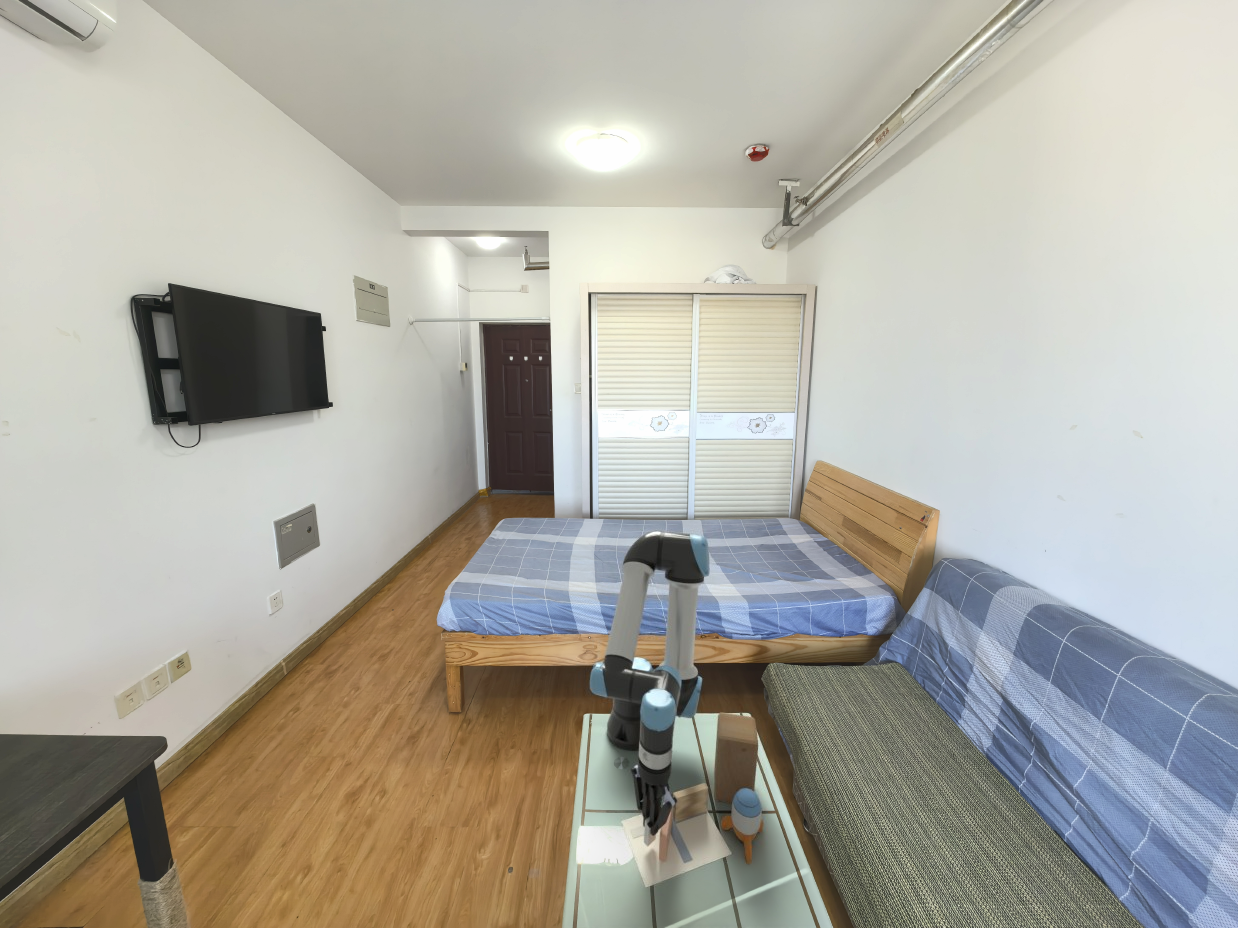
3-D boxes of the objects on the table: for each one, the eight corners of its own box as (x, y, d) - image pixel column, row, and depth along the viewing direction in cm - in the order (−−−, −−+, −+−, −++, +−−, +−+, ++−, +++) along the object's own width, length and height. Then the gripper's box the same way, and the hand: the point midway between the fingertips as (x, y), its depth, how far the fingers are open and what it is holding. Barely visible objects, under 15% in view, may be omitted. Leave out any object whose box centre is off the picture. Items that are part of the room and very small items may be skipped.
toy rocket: (714, 835, 114) (721, 775, 114) (748, 825, 119) (754, 767, 119) (741, 870, 105) (749, 805, 105) (777, 858, 110) (784, 795, 110)
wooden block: (753, 809, 120) (759, 744, 116) (713, 802, 122) (718, 737, 118) (750, 777, 130) (755, 715, 125) (714, 770, 132) (718, 709, 127)
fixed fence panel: (668, 825, 115) (669, 797, 114) (665, 819, 117) (667, 791, 115) (706, 812, 119) (708, 784, 117) (703, 806, 120) (705, 779, 119)
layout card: (621, 822, 116) (621, 820, 116) (698, 796, 123) (698, 794, 123) (645, 889, 101) (645, 886, 101) (731, 855, 109) (731, 853, 109)
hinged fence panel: (665, 823, 115) (666, 800, 114) (671, 825, 115) (672, 801, 113) (658, 859, 107) (659, 835, 105) (665, 861, 106) (666, 837, 105)
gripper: (623, 747, 107) (620, 829, 112) (664, 786, 98) (658, 874, 103) (646, 731, 112) (642, 811, 117) (687, 767, 102) (680, 851, 107)
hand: (649, 840), depth 110 cm, fingers closed
